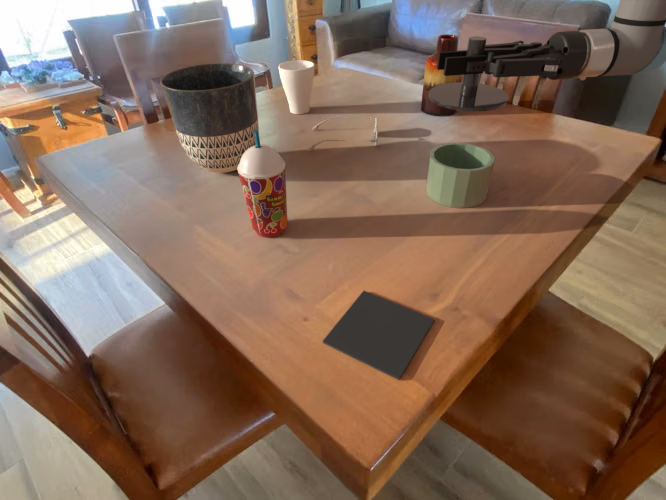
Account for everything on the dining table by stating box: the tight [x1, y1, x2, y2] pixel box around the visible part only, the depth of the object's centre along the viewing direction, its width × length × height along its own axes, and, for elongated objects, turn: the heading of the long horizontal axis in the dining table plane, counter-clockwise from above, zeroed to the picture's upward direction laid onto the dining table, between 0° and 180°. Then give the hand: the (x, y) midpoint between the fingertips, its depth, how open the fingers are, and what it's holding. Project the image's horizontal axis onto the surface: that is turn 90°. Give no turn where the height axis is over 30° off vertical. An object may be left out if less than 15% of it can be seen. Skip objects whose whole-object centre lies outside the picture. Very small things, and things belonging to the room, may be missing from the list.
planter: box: [159, 62, 260, 174], centre depth 97 cm, size 20×20×21 cm
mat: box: [322, 290, 435, 381], centre depth 62 cm, size 12×12×1 cm
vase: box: [420, 33, 463, 117], centre depth 123 cm, size 11×11×20 cm
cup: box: [277, 59, 315, 115], centre depth 128 cm, size 10×10×14 cm
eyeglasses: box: [306, 116, 379, 152], centre depth 113 cm, size 15×18×4 cm
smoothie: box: [236, 130, 288, 238], centre depth 77 cm, size 8×8×20 cm
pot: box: [425, 142, 496, 209], centre depth 89 cm, size 13×13×8 cm
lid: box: [429, 35, 510, 113], centre depth 72 cm, size 14×14×10 cm
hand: (442, 63), depth 71 cm, fingers closed on lid, 3 cm apart
